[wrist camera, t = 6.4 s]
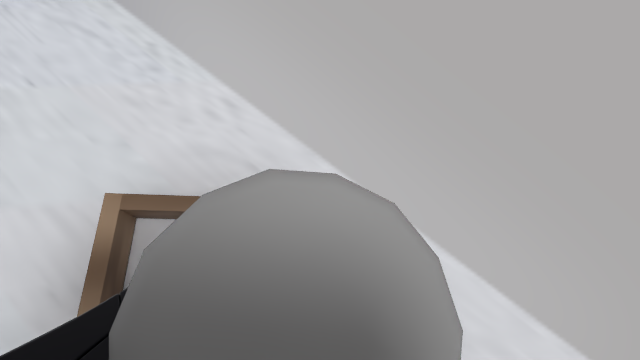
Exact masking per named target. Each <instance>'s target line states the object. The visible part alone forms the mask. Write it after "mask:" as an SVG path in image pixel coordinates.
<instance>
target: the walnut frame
mask: <svg viewBox="0 0 640 360" xmlns="http://www.w3.org/2000/svg"><path fill="white" fill-rule="evenodd" d="M200 197H201V196H174V195H144V194H115V193H105V196H104V200H103V205H102V209H101V213H100V218H99V222H98V227H97V231H96V235H95V240H94V244H93V248H92V253H91V257H90V261H89V266H88V270H87V275H86V279H85V283H84V288H83V292H82V296H81V301H80V305H79V309H78V314H77V317H78V316H80V315H82V314H83V313H85V312H87V311H89V310H90V309H92V308H94V307H96V306H97V305H99V304H101V303H102V302H104V301H106V300H107V299H109V298H111V297H112V296H114V295H116V294H119V295H120V292H121V291H122V290H123V285H124V280H125V275H126V269H127V264H128V259H129V254H130V248H131V243H132V238H133V233H134V227H135V222H136V218H159V219H178V218H179V217H180V216H181V215H182V214H183V213H184V212H185V211H186V210H187V209H188V208H189V207H190V206H191V205H192V204H194V203H195V202H196V201H197V200H198V199H199V198H200Z"/></svg>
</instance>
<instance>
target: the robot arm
mask: <svg viewBox="0 0 640 360" xmlns="http://www.w3.org/2000/svg"><path fill="white" fill-rule="evenodd" d="M127 289H128V288H126V289H124V290H123V291H121V292H120V295H119V294H116V295H114V296H112V297H111V298H109V299H107V300H106V301H104V302H102V303H101V304H99V305H97V306H96V307H94V308H92V309H90V310H89V311H87V312H85V313H83V314H82V315H80V316H78V317H76V318H74V319H72V320H70V321H68V322H67V323H65V324H63V325H61V326H59V327H57V328H55V329H53V330H51V331H49V332H47V333H45V334H43V335H41V336H39V337H37V338H35V339H33V340H31V341H29V342H27V343H25V344H23V345H21V346H19V347H17V348H15V349H13V350H12V351H10V352H8V353H6V354H4V355H2V356H0V360H109V332H110V330H111V328H112V325H113V323H114V320H115V318H116V316H117V313H118V311H119V308H120V306H121V304H122V301H123V299H124V296H125V294H126V292H127Z"/></svg>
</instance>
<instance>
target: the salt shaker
mask: <svg viewBox="0 0 640 360" xmlns="http://www.w3.org/2000/svg"><path fill="white" fill-rule="evenodd" d="M462 335H463V330H462V327H461V324H460V321H459V318H458V315H457V312H456V309H455V306H454V303H453V300H452V297H451V294H450V291H449V288H448V285H447V282H446V279H445V276H444V273H443V270H442V267H441V264H440V261H439V258H438V256H437V255H436V254H435V253H434V251H433V250H432V249H431V248H430V246H429V245H428V244H427V243H426V242H425V240H424V239H423V238H422V237H421V235H420V234H419V233H418V232H417V230H416V229H415V228H414V227H413V226H412V224H411V223H410V222H409V221H408V219H407V218H406V217H405V216H404V215H403V213H402V212H401V211H400V210H399V208H398V207H397V206H396V205H395V203H393V202H391V201H389V200H387V199H385V198H383V197H381V196H379V195H377V194H375V193H373V192H371V191H369V190H367V189H365V188H363V187H361V186H359V185H357V184H355V183H353V182H351V181H349V180H347V179H345V178H343V177H341V176H339V175H337V174H332V173H318V172H304V171H289V170H275V169H268V170H266V171H263V172H261V173H258V174H255V175H253V176H250V177H248V178H245V179H242V180H240V181H237V182H235V183H232V184H230V185H227V186H224V187H222V188H219V189H217V190H214V191H211V192H209V193H206V194H204V195H202V196H201V197H200V198H199V199H198V200H197V201H196V202H195V203H194V204H192V205H191V206H190V207H189V208H188V209H187V210H186V211H185V212H184V213H183V214H182V215H181V216H180V217H179V218H178V219H176V220H175V221H174V222H173V223H172V224H171V225H170V226H169V227H168V228H167V229H166V230H165V231H164V232H163V233H162V234H160V235H159V236H158V237H157V238H156V239H155V240H154V241H153V242H152V243H151V244H150V245H149V246H148V247H147V248H146V249H144V251H143V253H142V256H141V258H140V261H139V263H138V265H137V268H136V270H135V273H134V275H133V277H132V280H131V282H130V285H129V287H128V289H127V292H126V294H125V296H124V299H123V301H122V304H121V306H120V308H119V311H118V313H117V316H116V318H115V320H114V323H113V325H112V328H111V330H110V332H109V360H461V348H462Z"/></svg>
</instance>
